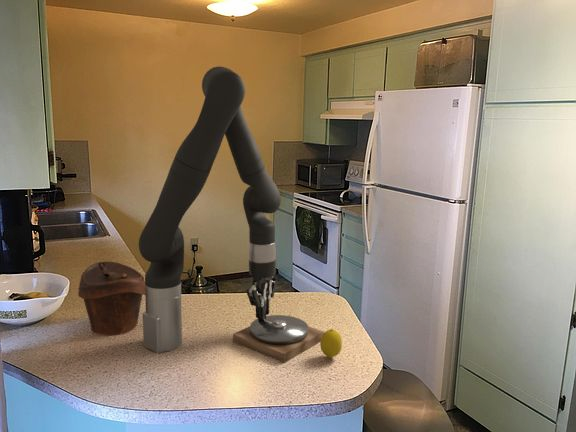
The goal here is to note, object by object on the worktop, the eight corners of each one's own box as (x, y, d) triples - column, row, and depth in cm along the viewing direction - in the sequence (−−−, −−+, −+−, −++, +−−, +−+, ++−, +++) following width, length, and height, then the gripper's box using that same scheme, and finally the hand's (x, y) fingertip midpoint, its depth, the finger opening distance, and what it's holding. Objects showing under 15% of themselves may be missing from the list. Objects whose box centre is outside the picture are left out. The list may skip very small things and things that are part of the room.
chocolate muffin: (131, 343, 130) (129, 279, 127) (65, 335, 134) (61, 273, 131) (161, 319, 148) (159, 262, 145) (101, 313, 152) (99, 257, 149)
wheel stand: (284, 363, 122) (284, 353, 122) (232, 342, 133) (232, 333, 133) (323, 339, 136) (324, 331, 136) (274, 322, 147) (274, 314, 147)
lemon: (327, 351, 129) (329, 322, 128) (345, 357, 126) (346, 328, 124) (315, 358, 125) (316, 329, 124) (333, 365, 122) (334, 335, 120)
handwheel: (319, 331, 135) (320, 301, 134) (282, 350, 123) (283, 318, 121) (276, 315, 145) (276, 288, 144) (238, 332, 133) (238, 302, 131)
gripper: (261, 266, 126) (261, 328, 130) (285, 253, 138) (285, 309, 142) (237, 262, 130) (238, 322, 133) (263, 249, 142) (263, 305, 145)
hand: (262, 315), depth 138 cm, fingers closed on handwheel, 2 cm apart
